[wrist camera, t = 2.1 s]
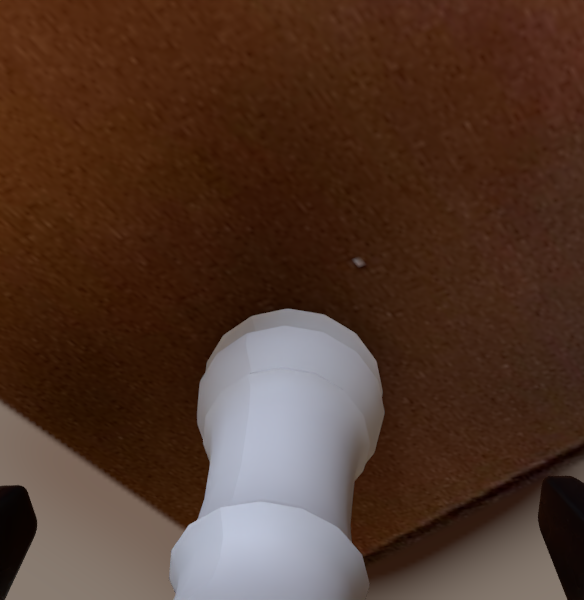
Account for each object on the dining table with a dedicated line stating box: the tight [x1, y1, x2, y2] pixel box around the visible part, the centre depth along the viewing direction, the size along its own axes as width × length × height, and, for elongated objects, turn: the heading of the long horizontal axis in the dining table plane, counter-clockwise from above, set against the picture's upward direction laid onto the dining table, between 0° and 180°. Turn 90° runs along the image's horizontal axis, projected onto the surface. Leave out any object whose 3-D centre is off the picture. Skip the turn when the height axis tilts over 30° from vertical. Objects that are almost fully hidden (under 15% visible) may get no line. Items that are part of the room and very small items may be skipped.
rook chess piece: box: [169, 309, 385, 600], centre depth 8 cm, size 4×4×8 cm
